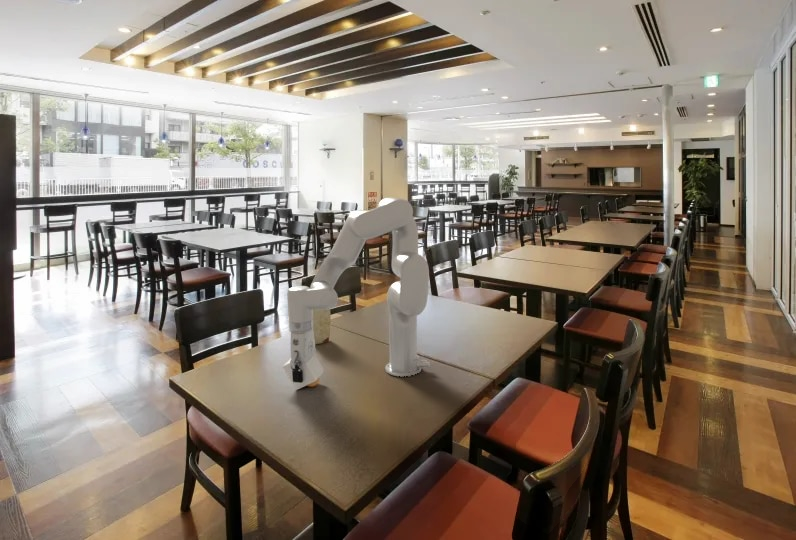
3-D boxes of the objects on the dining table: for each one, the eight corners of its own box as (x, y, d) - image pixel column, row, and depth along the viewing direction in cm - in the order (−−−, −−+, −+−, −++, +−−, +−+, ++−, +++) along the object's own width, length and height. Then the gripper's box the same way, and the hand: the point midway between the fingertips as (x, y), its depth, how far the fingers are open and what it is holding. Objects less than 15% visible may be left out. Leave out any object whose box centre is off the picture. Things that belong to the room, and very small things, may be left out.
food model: (317, 347, 182) (315, 298, 178) (306, 343, 187) (304, 296, 183) (335, 340, 190) (333, 294, 186) (324, 337, 194) (322, 291, 190)
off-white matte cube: (323, 370, 151) (310, 348, 150) (315, 380, 144) (302, 356, 143) (305, 379, 153) (292, 357, 152) (296, 390, 146) (282, 366, 145)
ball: (323, 371, 150) (309, 366, 150) (317, 377, 145) (303, 371, 145) (319, 385, 151) (305, 379, 151) (313, 391, 146) (299, 385, 146)
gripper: (302, 334, 136) (304, 388, 140) (321, 317, 153) (323, 365, 156) (278, 333, 137) (281, 386, 141) (300, 316, 154) (302, 364, 158)
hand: (303, 375), depth 149 cm, fingers open, 9 cm apart
